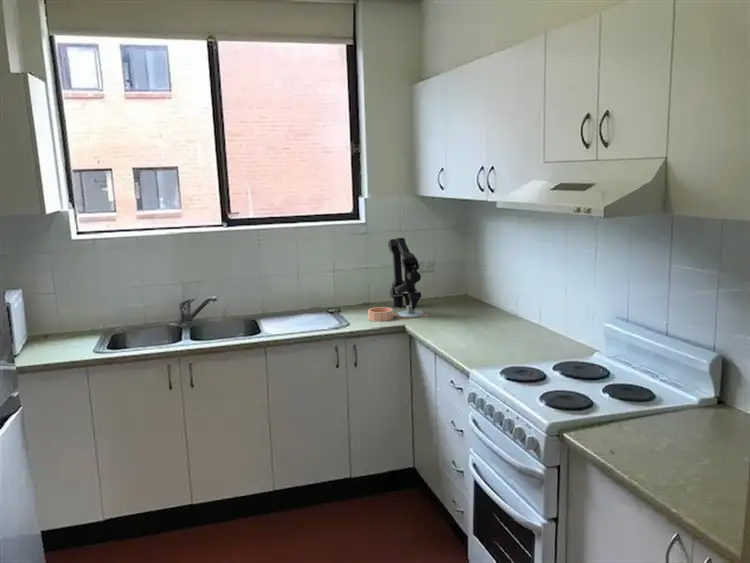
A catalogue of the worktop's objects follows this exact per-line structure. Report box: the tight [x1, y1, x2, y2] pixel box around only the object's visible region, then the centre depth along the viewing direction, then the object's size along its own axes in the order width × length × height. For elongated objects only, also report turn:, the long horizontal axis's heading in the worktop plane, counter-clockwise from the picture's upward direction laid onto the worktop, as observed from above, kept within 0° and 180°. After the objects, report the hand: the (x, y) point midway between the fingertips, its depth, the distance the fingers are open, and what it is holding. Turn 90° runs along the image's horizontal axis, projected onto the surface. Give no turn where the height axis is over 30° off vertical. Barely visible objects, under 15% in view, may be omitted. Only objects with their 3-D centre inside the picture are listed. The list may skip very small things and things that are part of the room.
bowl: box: [367, 306, 394, 322], centre depth 336 cm, size 13×13×5 cm
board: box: [393, 310, 430, 321], centre depth 341 cm, size 16×16×1 cm
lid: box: [397, 304, 425, 319], centre depth 340 cm, size 14×14×5 cm
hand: (410, 307), depth 340 cm, fingers open, 9 cm apart
